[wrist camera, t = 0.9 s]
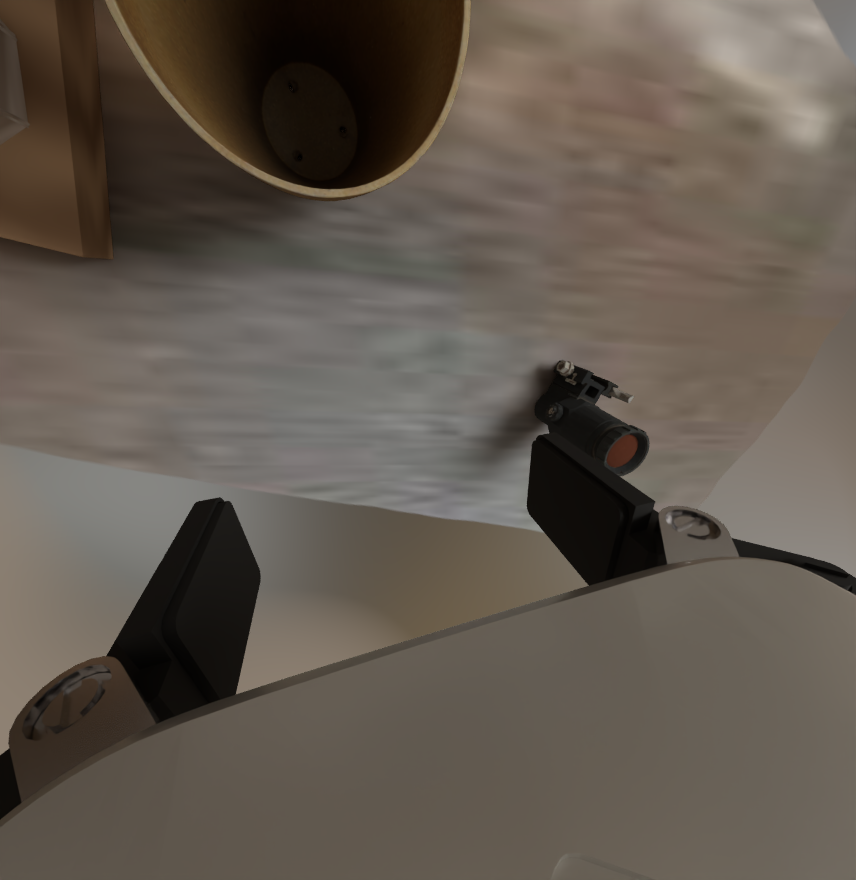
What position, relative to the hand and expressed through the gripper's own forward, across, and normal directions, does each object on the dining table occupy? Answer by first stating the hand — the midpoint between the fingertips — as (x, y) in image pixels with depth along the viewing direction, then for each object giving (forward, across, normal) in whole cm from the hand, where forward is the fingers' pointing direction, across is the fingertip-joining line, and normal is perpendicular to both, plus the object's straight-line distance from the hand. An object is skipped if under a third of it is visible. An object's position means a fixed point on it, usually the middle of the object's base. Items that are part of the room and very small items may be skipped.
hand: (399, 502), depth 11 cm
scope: (+29, -25, +11) cm, 40 cm away
